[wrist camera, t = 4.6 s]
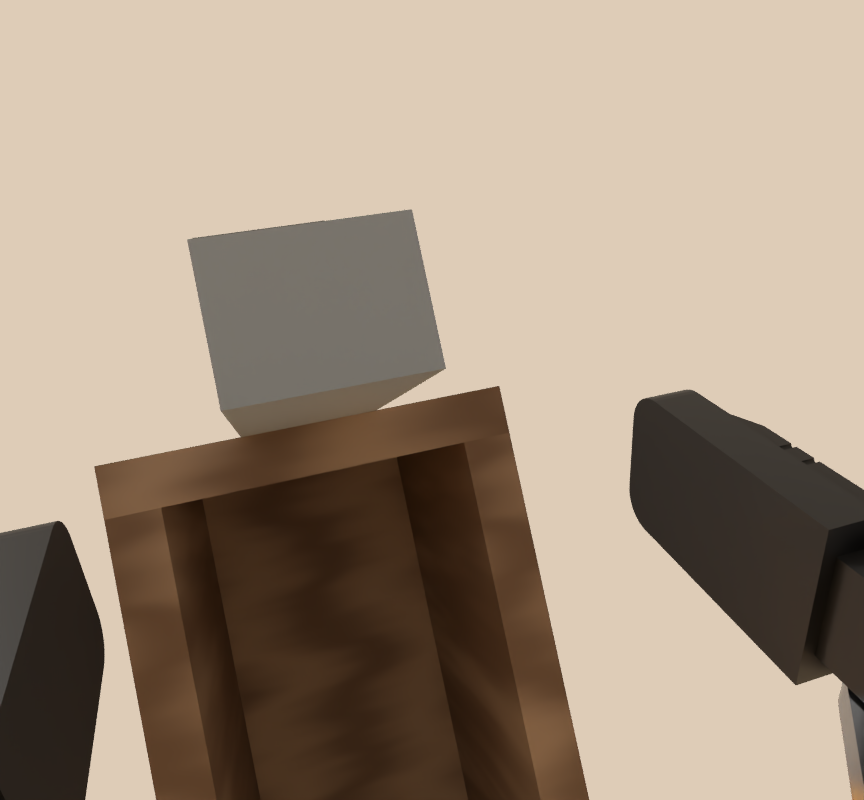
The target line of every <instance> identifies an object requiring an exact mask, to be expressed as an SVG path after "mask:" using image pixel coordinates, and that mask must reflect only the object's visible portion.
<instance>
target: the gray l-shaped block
mask: <svg viewBox="0 0 864 800" xmlns="http://www.w3.org/2000/svg"><path fill="white" fill-rule="evenodd" d="M188 246H189V250H190V256H191V261H192V266H193V271H194V276H195V281H196V287H197V291H198V297H199V302H200V307H201V312H202V317H203V322H204V327H205V332H206V338H207V343H208V347H209V353H210V357H211V363H212V368H213V373H214V378H215V383H216V389H217V393H218V398H219V404H220V409H221V412H222V413H223V414H224V416H225V417H226V418H227V420H228V421H229V422H230V423H231V425H232V426H233V427H234V429H235V430H236V431H237V432H238V434H239V435H240V436H241V437H245V436H250V435H255V434H260V433H265V432H270V431H276V430H281V429H286V428H291V427H296V426H301V425H306V424H311V423H316V422H321V421H326V420H331V419H336V418H341V417H346V416H351V415H356V414H361V413H366V412H371V411H376V410H377V409H379V408H381V407H382V406H384V405H386V404H387V403H389V402H391V401H392V400H394V399H396V398H397V397H399V396H401V395H402V394H404V393H406V392H407V391H409V390H411V389H412V388H414V387H416V386H417V385H419V384H421V383H422V382H424V381H426V380H427V379H429V378H431V377H432V376H434V375H436V374H437V373H439V372H441V371H442V370H444V369H446V367H445V363H444V358H443V353H442V349H441V344H440V339H439V335H438V330H437V325H436V320H435V316H434V311H433V306H432V302H431V297H430V293H429V288H428V283H427V278H426V274H425V269H424V265H423V260H422V255H421V250H420V246H419V241H418V236H417V232H416V227H415V222H414V218H413V213H412V210H404V211H397V212H390V213H382V214H374V215H367V216H360V217H352V218H345V219H337V220H330V221H318V222H310V223H304V224H296V225H288V226H281V227H273V228H266V229H258V230H251V231H244V232H236V233H229V234H221V235H214V236H207V237H198V238H193V239H188Z"/></svg>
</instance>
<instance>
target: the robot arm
mask: <svg viewBox="0 0 864 800" xmlns="http://www.w3.org/2000/svg"><path fill="white" fill-rule="evenodd" d="M630 498H631V503H632V507H633V510H634V512H635V515H636V517H637V519H638V521H639V522H640V524H641V525H642V526H643V528H644V529H645V530H646V531H647V532H648V533H649V534H650V535H651V536H652V537H653V538H654V539H655V540H656V541H657V542H658V543H659V544H660V545H661V547H662V548H663V549H664V550H665V551H666V552H667V553H668V554H669V555H670V556H671V557H672V558H673V559H674V560H675V561H676V562H677V563H678V564H679V565H680V566H681V567H682V568H683V569H684V570H685V571H686V572H687V573H688V574H689V575H690V576H691V578H692V579H693V580H694V581H695V582H696V583H697V584H698V585H699V586H700V587H701V588H702V589H703V590H704V591H705V592H706V593H707V594H708V595H709V596H710V597H711V598H712V599H713V600H714V601H715V602H716V603H717V604H718V605H719V606H720V607H721V608H722V610H723V611H724V612H725V613H726V614H727V615H728V616H729V617H730V618H731V619H732V620H733V621H734V622H735V623H736V624H737V625H738V626H739V627H740V628H741V629H742V630H743V631H744V632H745V633H746V634H747V635H748V636H749V637H750V638H751V639H752V640H753V642H754V643H755V644H756V645H758V647H759V648H760V649H761V650H762V651H763V652H764V653H765V654H766V655H767V656H768V657H769V658H770V659H771V660H772V661H773V662H774V663H775V664H776V665H777V666H778V667H779V668H780V669H781V671H782V672H783V673H785V675H786V676H787V677H788V678H789V679H790V680H791V681H792V682H793V683H794V684H795V685H798V684H801V683H804V682H807V681H810V680H813V679H816V678H819V677H822V676H825V675H828V674H831V673H833V674H835V675H836V676H837V677H838V678H839V679H840V680H841V681H842V682H843V683H842V687H841V691H840V695H839V699H838V703H839V713H840V720H841V726H842V732H843V740H844V746H845V753H846V760H847V767H848V773H849V780H850V787H851V794H852V800H864V490H863V489H862V488H860V487H858V486H857V485H855V484H853V483H852V482H850V481H849V480H847V479H846V478H844V477H843V476H841V475H840V474H838V473H836V472H835V471H833V470H832V469H830V468H828V467H827V466H825V465H824V464H822V463H821V462H817V463H815V462H814V458H813V457H811V456H810V455H808V454H807V453H805V452H804V451H802V450H801V449H799V448H797V447H794V448H792V446H791V443H789V442H788V441H786V440H785V439H783V438H782V437H780V436H779V435H777V434H776V433H774V432H772V431H771V430H769V429H767V428H766V427H765V426H762V425H759V424H756V423H754V422H751V421H748V420H745V419H742V418H740V417H737V416H734V415H731V414H729V413H727V412H726V411H724V410H723V409H721V408H719V407H718V406H717V405H715V404H713V403H712V402H710V401H709V400H707V399H706V398H704V397H703V396H701V395H700V394H698V393H697V392H695V391H693V390H683V391H678V392H674V393H669V394H664V395H659V396H655V397H650V398H645V399H642V400H641V401H639V403H638V404H637V406H636V408H635V412H634V423H633V438H632V455H631V471H630ZM103 669H104V640H103V633H102V628H101V623H100V619H99V615H98V612H97V610H96V607H95V604H94V601H93V598H92V596H91V593H90V590H89V587H88V584H87V582H86V579H85V576H84V573H83V570H82V568H81V565H80V562H79V559H78V556H77V554H76V551H75V548H74V545H73V543H72V540H71V537H70V534H69V532H68V530H67V528H66V527H65V525H64V524H63V523H62V522H60V521H56V522H51V523H46V524H41V525H36V526H32V527H27V528H22V529H18V530H13V531H8V532H3V533H0V800H85V796H86V789H87V782H88V776H89V768H90V761H91V754H92V747H93V740H94V733H95V725H96V719H97V712H98V705H99V697H100V690H101V682H102V675H103Z"/></svg>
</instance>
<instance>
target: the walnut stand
mask: <svg viewBox="0 0 864 800" xmlns="http://www.w3.org/2000/svg"><path fill="white" fill-rule="evenodd" d="M95 473H96V478H97V483H98V488H99V494H100V500H101V504H102V510H103V515H104V521H105V526H106V532H107V536H108V542H109V548H110V553H111V559H112V564H113V569H114V575H115V580H116V585H117V591H118V596H119V602H120V607H121V613H122V618H123V623H124V629H125V634H126V639H127V645H128V650H129V656H130V661H131V666H132V672H133V677H134V682H135V688H136V693H137V699H138V704H139V709H140V715H141V720H142V725H143V731H144V736H145V741H146V747H147V752H148V758H149V763H150V768H151V774H152V779H153V785H154V790H155V795H156V800H589V797H588V792H587V788H586V783H585V779H584V774H583V769H582V765H581V760H580V756H579V751H578V747H577V742H576V737H575V733H574V728H573V723H572V719H571V715H570V710H569V705H568V700H567V696H566V691H565V687H564V682H563V678H562V673H561V668H560V664H559V659H558V655H557V650H556V645H555V641H554V636H553V632H552V627H551V623H550V618H549V613H548V609H547V604H546V600H545V595H544V590H543V586H542V581H541V576H540V572H539V568H538V563H537V558H536V553H535V549H534V544H533V540H532V535H531V530H530V526H529V521H528V517H527V513H526V507H525V503H524V498H523V494H522V489H521V484H520V480H519V475H518V471H517V466H516V462H515V457H514V453H513V448H512V443H511V439H510V434H509V429H508V425H507V420H506V416H505V411H504V406H503V402H502V397H501V393H500V388H499V386H497V387H492V388H487V389H482V390H477V391H472V392H467V393H462V394H457V395H452V396H447V397H441V398H437V399H431V400H426V401H422V402H416V403H412V404H406V405H401V406H396V407H391V408H386V409H382V410H376V411H371V412H366V413H361V414H356V415H351V416H346V417H341V418H336V419H331V420H326V421H321V422H316V423H311V424H306V425H301V426H296V427H291V428H286V429H281V430H276V431H270V432H265V433H260V434H255V435H250V436H245V437H240V438H235V439H230V440H226V441H220V442H215V443H210V444H205V445H200V446H195V447H190V448H185V449H180V450H176V451H170V452H165V453H160V454H155V455H150V456H145V457H140V458H135V459H130V460H125V461H119V462H114V463H110V464H104V465H99V466H95Z"/></svg>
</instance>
